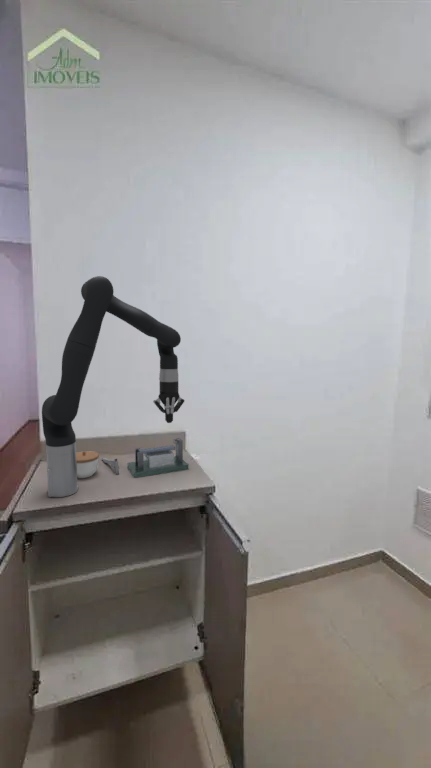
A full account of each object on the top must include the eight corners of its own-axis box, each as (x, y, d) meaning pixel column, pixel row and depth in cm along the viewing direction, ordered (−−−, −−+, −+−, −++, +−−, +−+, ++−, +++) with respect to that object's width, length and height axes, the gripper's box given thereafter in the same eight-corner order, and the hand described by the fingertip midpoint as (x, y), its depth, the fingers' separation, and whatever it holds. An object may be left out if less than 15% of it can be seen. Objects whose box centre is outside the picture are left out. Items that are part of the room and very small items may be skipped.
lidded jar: (69, 482, 128) (68, 457, 127) (69, 471, 138) (68, 448, 137) (100, 478, 132) (99, 454, 131) (98, 468, 142) (97, 445, 141)
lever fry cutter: (133, 478, 132) (133, 449, 131) (127, 467, 143) (126, 441, 141) (188, 469, 141) (188, 442, 140) (178, 460, 152) (178, 435, 151)
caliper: (119, 475, 136) (118, 459, 135) (116, 475, 135) (115, 459, 134) (103, 459, 152) (103, 446, 152) (100, 460, 152) (100, 446, 151)
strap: (139, 454, 137) (139, 451, 136) (138, 451, 139) (138, 449, 139) (175, 449, 143) (175, 447, 143) (173, 447, 145) (173, 445, 145)
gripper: (155, 381, 133) (155, 426, 136) (187, 380, 139) (187, 423, 141) (150, 379, 140) (150, 422, 142) (181, 378, 146) (181, 419, 148)
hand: (169, 422), depth 142 cm, fingers closed
